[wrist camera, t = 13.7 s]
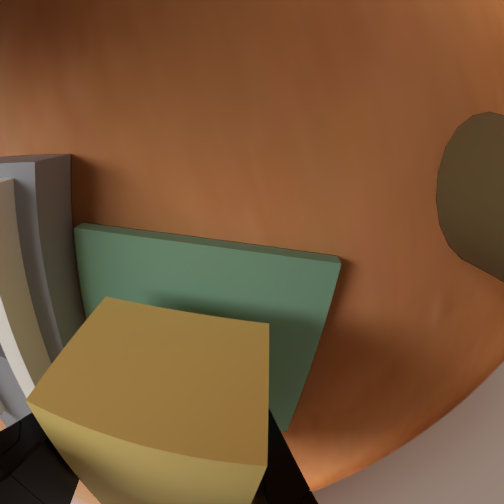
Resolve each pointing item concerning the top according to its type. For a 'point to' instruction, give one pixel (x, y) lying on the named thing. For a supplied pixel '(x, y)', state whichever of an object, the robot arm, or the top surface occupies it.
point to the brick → (160, 405)
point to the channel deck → (35, 274)
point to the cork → (474, 192)
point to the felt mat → (218, 290)
